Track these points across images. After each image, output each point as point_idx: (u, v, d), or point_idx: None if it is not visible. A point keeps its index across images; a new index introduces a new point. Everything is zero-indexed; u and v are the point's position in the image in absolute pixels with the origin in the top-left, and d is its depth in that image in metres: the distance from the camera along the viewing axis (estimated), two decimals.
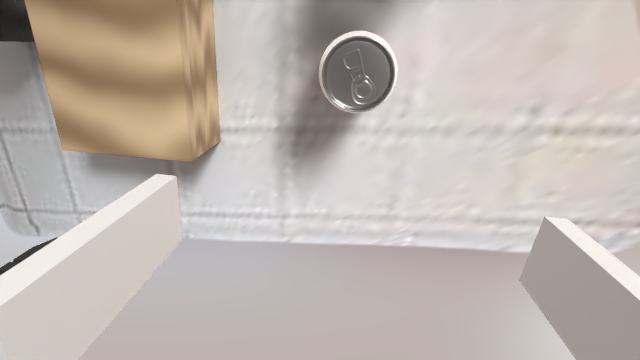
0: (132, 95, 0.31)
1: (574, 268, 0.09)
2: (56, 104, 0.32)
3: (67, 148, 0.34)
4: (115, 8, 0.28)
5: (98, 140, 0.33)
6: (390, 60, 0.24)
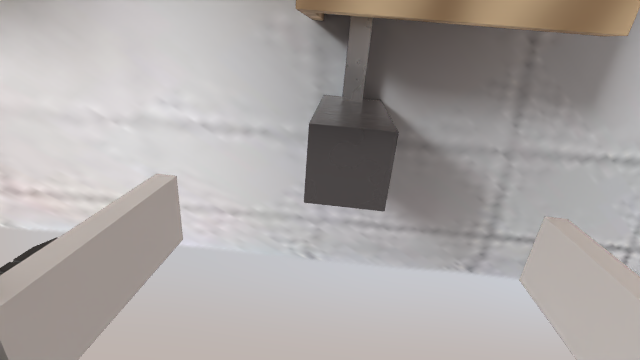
0: None
1: (574, 268, 0.09)
2: (528, 13, 0.15)
3: (628, 21, 0.15)
4: None
5: None
6: None
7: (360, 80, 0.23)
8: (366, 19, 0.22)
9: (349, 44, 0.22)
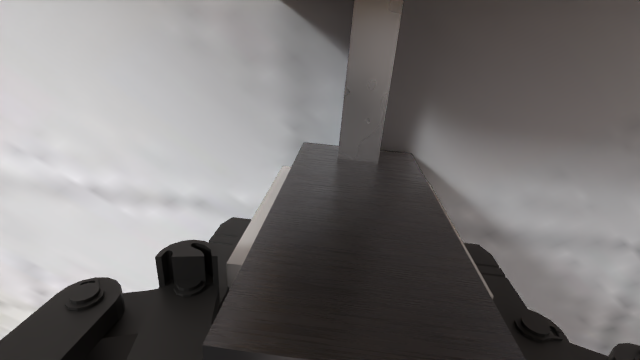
0: None
1: None
2: None
3: None
4: None
5: None
6: None
7: (374, 122, 0.11)
8: None
9: (352, 48, 0.11)
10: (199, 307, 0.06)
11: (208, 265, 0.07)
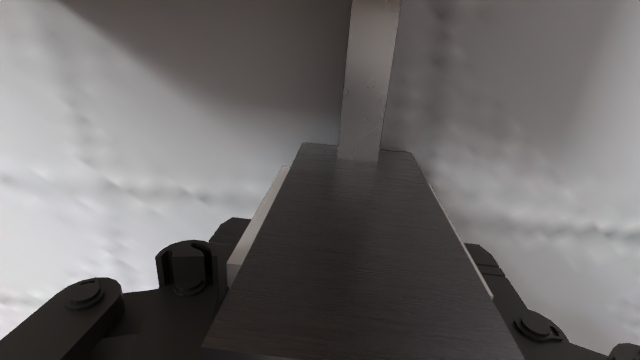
0: None
1: None
2: None
3: None
4: None
5: None
6: None
7: (373, 121, 0.11)
8: None
9: (350, 48, 0.10)
10: (199, 307, 0.06)
11: (208, 265, 0.07)
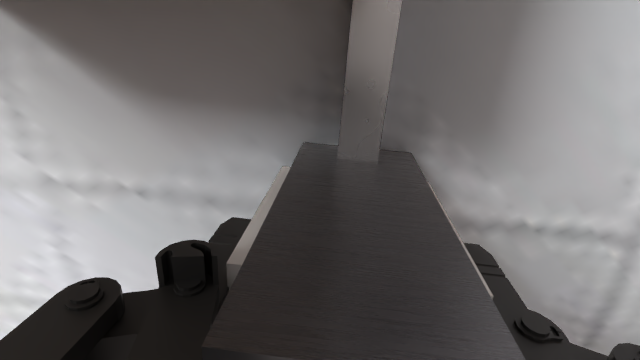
0: None
1: None
2: None
3: None
4: None
5: None
6: None
7: (373, 121, 0.11)
8: None
9: (351, 48, 0.10)
10: (199, 307, 0.06)
11: (208, 265, 0.07)
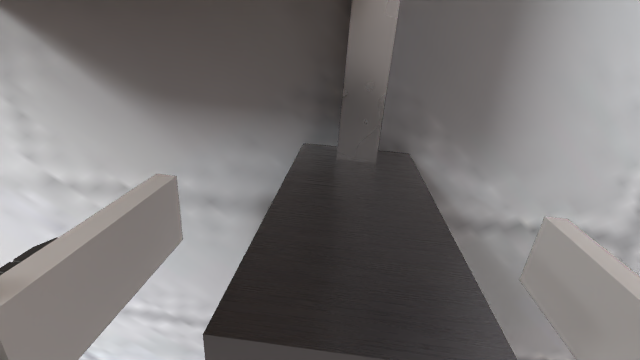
0: None
1: (574, 268, 0.09)
2: None
3: None
4: None
5: None
6: None
7: (372, 123, 0.12)
8: None
9: (350, 51, 0.11)
10: None
11: None
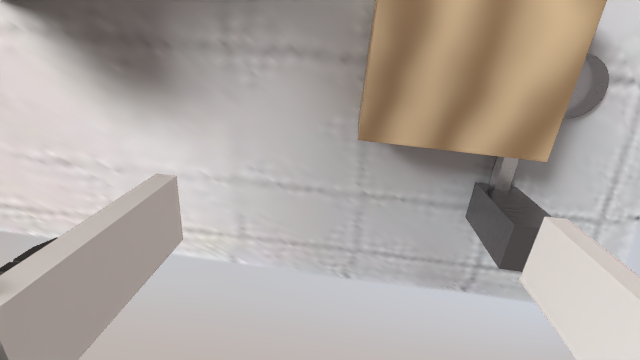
0: (501, 43, 0.24)
1: (574, 268, 0.09)
2: (490, 148, 0.27)
3: (546, 155, 0.27)
4: (401, 38, 0.25)
5: (547, 109, 0.26)
6: None
7: (509, 178, 0.35)
8: None
9: None
10: None
11: None
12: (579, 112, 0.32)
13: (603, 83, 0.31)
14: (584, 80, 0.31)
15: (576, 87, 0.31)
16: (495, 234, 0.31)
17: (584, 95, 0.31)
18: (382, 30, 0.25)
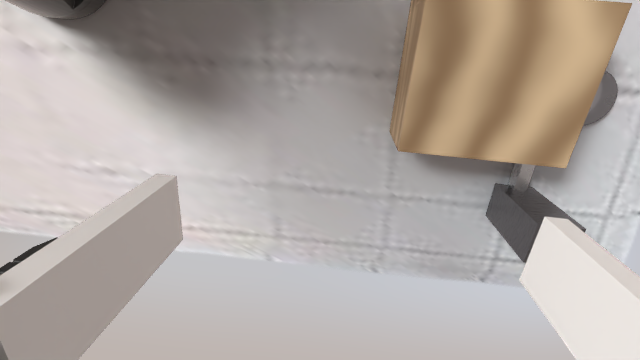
0: (528, 66, 0.28)
1: (574, 268, 0.09)
2: (516, 157, 0.31)
3: (565, 162, 0.31)
4: (440, 62, 0.28)
5: (567, 123, 0.29)
6: None
7: (527, 179, 0.38)
8: None
9: None
10: None
11: None
12: (590, 120, 0.36)
13: (612, 95, 0.34)
14: (596, 92, 0.34)
15: None
16: (518, 231, 0.34)
17: (595, 106, 0.35)
18: (423, 55, 0.28)
